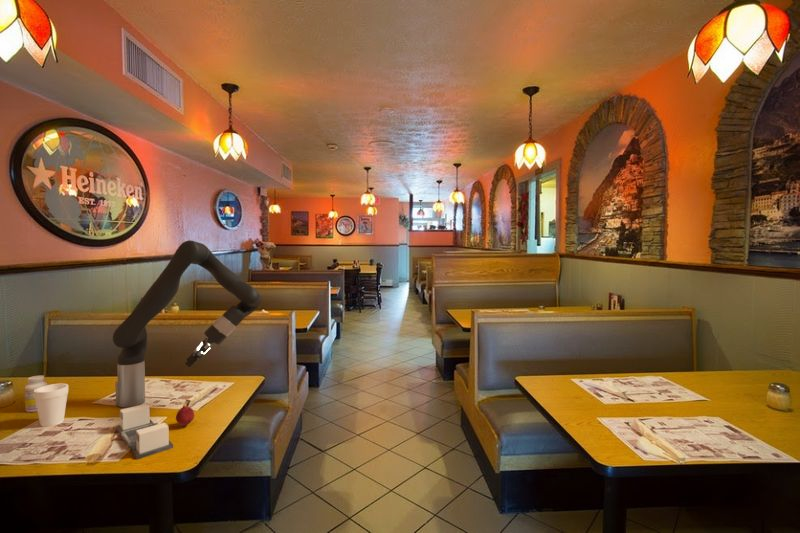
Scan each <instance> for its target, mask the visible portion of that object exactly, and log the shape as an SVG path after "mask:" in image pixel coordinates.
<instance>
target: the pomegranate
mask: <svg viewBox="0 0 800 533" xmlns="http://www.w3.org/2000/svg"><path fill="white" fill-rule="evenodd" d="M194 412H195V411H194V410H193V409H192V407H190V406H188V405H187V404H185V403H184V404H183V406H182V407H180V409H179V410H178V411H177V412H176V416H175V420H176V422H177V423H178V425H180V426H183V427H186V426H188V425H189V424H191V423H192V421H193V420H194V419H195V413H194Z"/></svg>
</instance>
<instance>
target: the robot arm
mask: <svg viewBox="0 0 800 533" xmlns="http://www.w3.org/2000/svg"><path fill="white" fill-rule="evenodd" d="M190 265H197V266H199V267H201V268H203V269H204V270H206V271H208V272H209V273H210V274H211V275H212V276H213V278H214V279H215V281H216V282H217V283H218V285H220V286H221V287H222V288H223V289H225V290H226V291H227V292H229V293H230V294H232V295H234V296H235V298H237V299H238V300H239V301H240V302H238V303H237V304H236V305H231V306H230V307H229V308H227V310H225V312H223V313H222V315H221V316H219V317H218V318H217V319H215V321H214V322H213V323H212V324H210V326H208V328H207V329H205V331H204V335H205V338H204V339H202V340H201V342H200V343H199V344H198V345H197V346H196V347H195V348H194V350H193V352H192V353H191V354H190V355H189V356H187V358H186V362H185V365H186V366H187V367H189V368H190V367H192V365H194V364H195V363H196V361H198V360H200V359H201V358H202V357H203V356H204V355H206V353H207V352H208V351H209V350H211V348H212V344H216V345H218V346H220V345H221V344H222V343H223V342H224V341H225V340H226V339H228V337H229V336H230V335H231V334H232V333H233V332H234V330H235V329H236V327H237V326H238V325H239V324H240V323H241V322H242V321H243V320H244V319H245V318H247V317H248V316H249V315H250V314H253V312H254V311H256V310H257V309H258V308H259V307H260V306H261V304H262V302H263V298H262V295H261V294H260V293H259V291H258V290H257V289H256V288H254V287H253V286H252V285H251V284H249V283H247V282H246V281H244V280H243V279H242V278H241V277H240V276H238V274H236V273H235V272H233V271H232V270H231V269H229V267H227V266H226V265H225V264H223V263H222V262H221V260H219V258H217V257H216V255H215V254H214V253H213V252H212V251H211V249H209V248H208V246H207V245H205V244H204V243H202V242H198V241H196V240H186V241H183V242H182V243H181V244H180V245H179V246H178V248H177V249H176V251H175V252H174V254H173V256H172V258H170V261H169V262H168V263H167V265H166V266H165V268H164V269H163V270H162V272H161V273H160V274H159V276H158V278H156V280H155V281H154V282H153V283H152V284H151V286H150V287H149V288H148V290H147V291H146V293H145V294H144V295H143V297H142V298H141V299H140V300H139V302H138V303H137V305H136V306H135V308H134V309H133V310H132V312H131V313H130V314H129V316H127V317H126V319H124V321H122V322H121V323H120V324H119V326H118V327H117V328H116V329H115V330H114V332H113V334H112V341H113V343H114V345H115V346H116V347H118V348H121V352H120V353H119V355H118V356H117V358H116V361H117V365H116V366H117V367H116V368H117V369H116V371H117V381H116V382H115V406H117V407H120V408H130V407H134V406H138V405H143V404H144V403H145V401H146V385H145V384H146V381H145V380H146V377H145V376H146V372H145V371H146V370H145V366H146V364H145V356H146V354H147V349H148V348H147V347H148V346H147V344H148V332H147V328H146V327H147V325H148V324H149V323H150V321H152V320H153V319H154V318H155V317H156V316H157V315H159V314H160V313H161V312H162V311H163V310H164V309H165V308H166V307H167V306H168V305H169V303H171V301H172V300H173V299H174V298H175V296H176V295H177V293H178V290H179V288H180V282H181V278H182V276H183V274H184V273H185V272H186V270H187V269H188V267H189V266H190Z"/></svg>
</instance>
